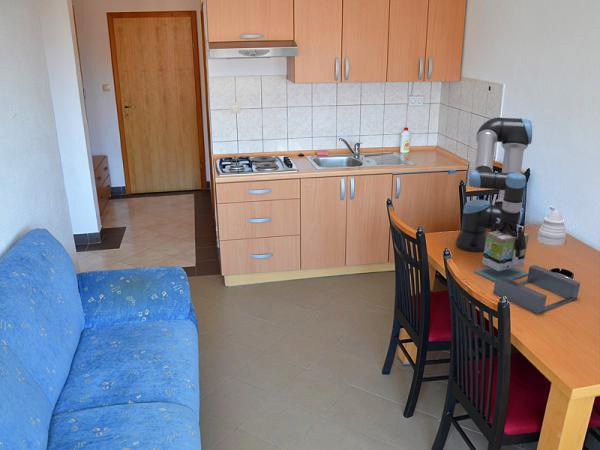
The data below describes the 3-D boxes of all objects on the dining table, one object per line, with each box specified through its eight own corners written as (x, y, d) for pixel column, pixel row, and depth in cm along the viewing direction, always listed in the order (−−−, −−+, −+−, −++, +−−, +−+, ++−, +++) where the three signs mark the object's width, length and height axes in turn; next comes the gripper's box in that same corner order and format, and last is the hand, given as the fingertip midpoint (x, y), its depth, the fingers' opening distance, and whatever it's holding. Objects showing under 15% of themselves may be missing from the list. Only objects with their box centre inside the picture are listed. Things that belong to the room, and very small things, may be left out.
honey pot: (535, 242, 272) (540, 208, 266) (539, 234, 282) (545, 202, 276) (562, 247, 265) (569, 213, 259) (565, 239, 276) (572, 206, 270)
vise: (493, 293, 216) (495, 277, 214) (541, 276, 232) (544, 261, 230) (537, 314, 200) (541, 297, 198) (586, 295, 216) (590, 279, 214)
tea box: (499, 272, 225) (504, 239, 220) (481, 263, 234) (485, 232, 229) (524, 266, 232) (529, 234, 227) (506, 257, 240) (510, 227, 235)
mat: (473, 272, 235) (474, 271, 235) (502, 263, 245) (502, 262, 244) (500, 284, 224) (500, 283, 224) (528, 275, 234) (529, 273, 233)
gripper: (483, 204, 232) (477, 251, 239) (529, 219, 213) (520, 270, 221) (494, 202, 235) (488, 248, 243) (540, 216, 217) (532, 266, 225)
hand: (503, 258), depth 232 cm, fingers closed on tea box, 10 cm apart
